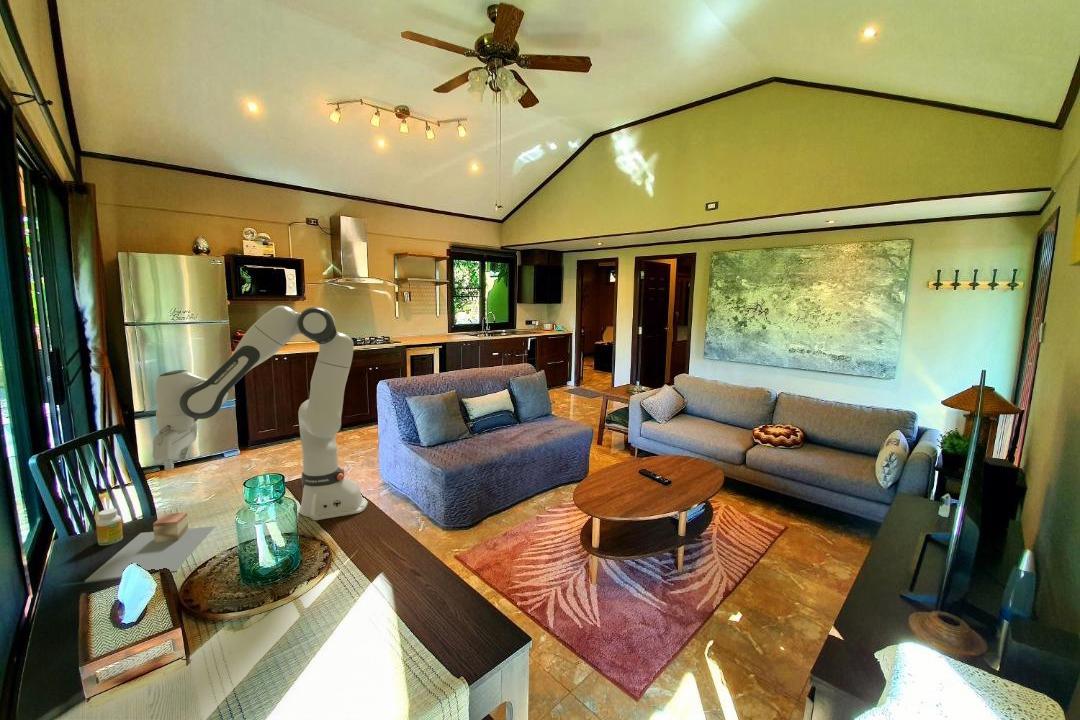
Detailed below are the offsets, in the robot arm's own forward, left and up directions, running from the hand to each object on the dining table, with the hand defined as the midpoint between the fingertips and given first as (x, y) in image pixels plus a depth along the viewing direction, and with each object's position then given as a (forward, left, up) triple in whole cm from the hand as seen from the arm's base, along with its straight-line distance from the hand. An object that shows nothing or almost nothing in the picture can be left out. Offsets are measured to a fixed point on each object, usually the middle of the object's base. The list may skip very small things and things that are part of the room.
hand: (176, 464), depth 139 cm
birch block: (-1, +7, -21) cm, 22 cm away
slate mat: (-1, +15, -21) cm, 26 cm away
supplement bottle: (+15, +6, -21) cm, 27 cm away
